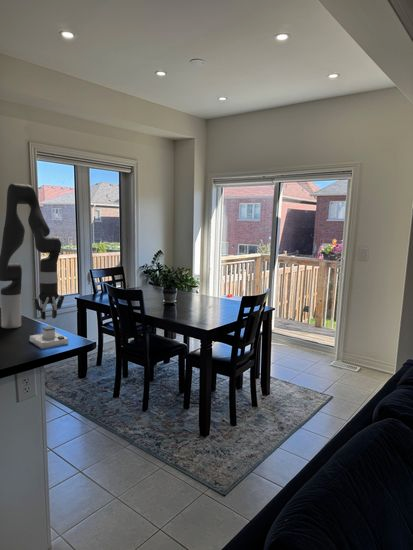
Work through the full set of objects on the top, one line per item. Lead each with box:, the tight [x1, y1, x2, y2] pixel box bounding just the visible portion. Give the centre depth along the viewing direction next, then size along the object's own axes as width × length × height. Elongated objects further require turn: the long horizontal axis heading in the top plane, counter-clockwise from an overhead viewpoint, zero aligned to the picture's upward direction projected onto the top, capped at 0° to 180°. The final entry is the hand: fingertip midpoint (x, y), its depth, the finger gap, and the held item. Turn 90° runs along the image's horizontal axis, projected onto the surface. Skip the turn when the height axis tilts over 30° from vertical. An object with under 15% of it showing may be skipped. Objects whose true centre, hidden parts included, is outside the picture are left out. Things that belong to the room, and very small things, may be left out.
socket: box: [29, 331, 69, 350], centre depth 174 cm, size 14×12×3 cm
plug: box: [42, 325, 56, 340], centre depth 174 cm, size 4×4×7 cm
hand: (48, 318), depth 173 cm, fingers open, 4 cm apart
